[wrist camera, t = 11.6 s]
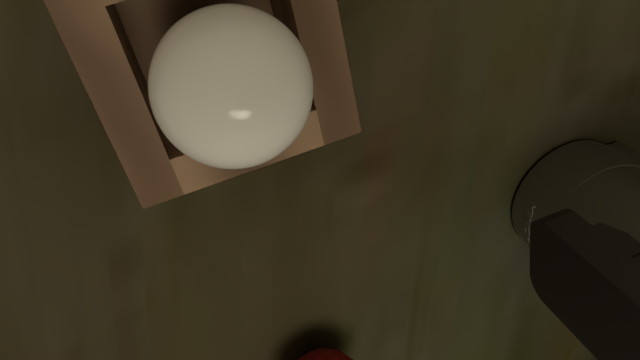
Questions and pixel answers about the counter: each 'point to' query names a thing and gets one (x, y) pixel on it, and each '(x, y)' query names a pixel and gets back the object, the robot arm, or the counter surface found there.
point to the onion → (325, 355)
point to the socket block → (132, 82)
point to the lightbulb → (230, 86)
